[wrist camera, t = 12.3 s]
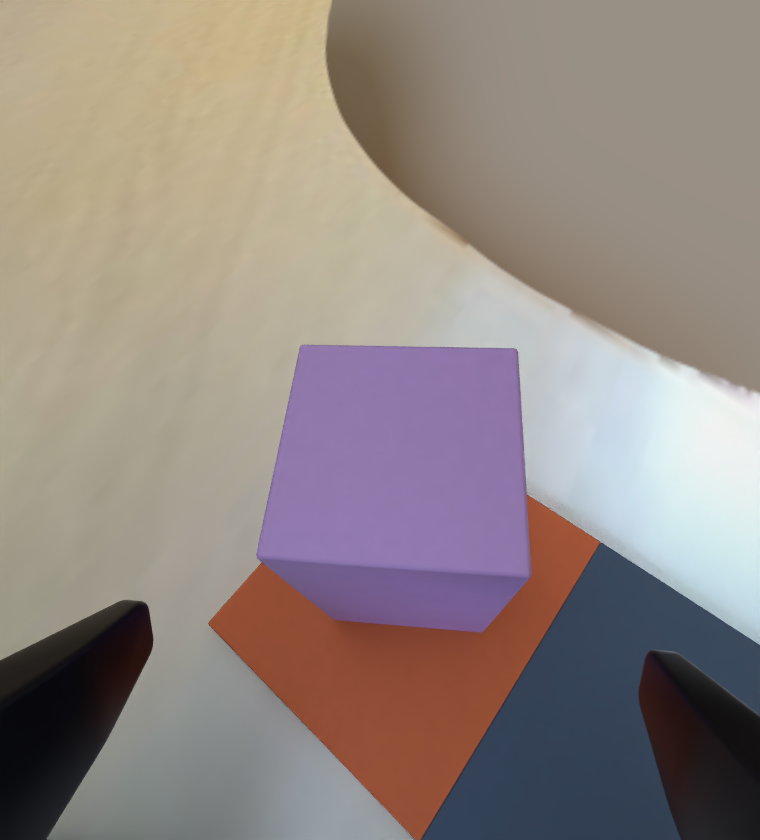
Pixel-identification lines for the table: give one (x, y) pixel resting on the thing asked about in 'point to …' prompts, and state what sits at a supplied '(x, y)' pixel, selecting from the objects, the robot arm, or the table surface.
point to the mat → (498, 694)
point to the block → (402, 485)
